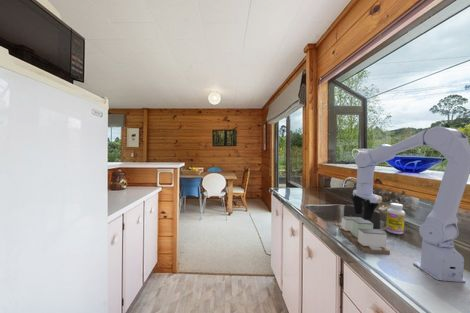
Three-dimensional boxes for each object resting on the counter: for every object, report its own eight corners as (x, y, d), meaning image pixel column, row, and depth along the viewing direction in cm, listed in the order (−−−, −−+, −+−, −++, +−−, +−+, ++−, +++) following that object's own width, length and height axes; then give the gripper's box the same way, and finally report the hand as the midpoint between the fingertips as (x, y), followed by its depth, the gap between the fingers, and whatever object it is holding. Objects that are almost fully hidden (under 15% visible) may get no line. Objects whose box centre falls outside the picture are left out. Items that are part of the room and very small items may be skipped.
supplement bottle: (385, 232, 102) (387, 204, 101) (386, 228, 107) (387, 201, 106) (403, 235, 98) (405, 206, 97) (403, 231, 103) (405, 204, 102)
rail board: (389, 254, 79) (390, 249, 79) (363, 252, 80) (363, 247, 80) (359, 231, 101) (359, 227, 101) (338, 229, 102) (338, 226, 101)
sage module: (372, 238, 88) (373, 223, 88) (356, 237, 88) (357, 222, 88) (367, 234, 92) (368, 220, 92) (352, 233, 92) (352, 219, 92)
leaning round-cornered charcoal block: (382, 231, 103) (383, 210, 102) (378, 233, 100) (380, 212, 100) (346, 221, 115) (347, 203, 115) (342, 222, 112) (343, 204, 112)
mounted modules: (386, 247, 80) (387, 233, 80) (363, 245, 81) (363, 232, 81) (359, 228, 100) (360, 217, 99) (341, 227, 100) (341, 216, 100)
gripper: (386, 186, 82) (383, 222, 82) (365, 180, 96) (363, 211, 97) (366, 185, 82) (364, 221, 83) (348, 180, 97) (346, 210, 97)
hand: (362, 216), depth 90 cm, fingers open, 7 cm apart
